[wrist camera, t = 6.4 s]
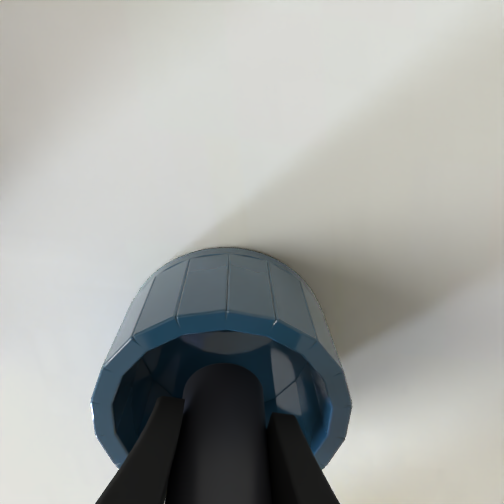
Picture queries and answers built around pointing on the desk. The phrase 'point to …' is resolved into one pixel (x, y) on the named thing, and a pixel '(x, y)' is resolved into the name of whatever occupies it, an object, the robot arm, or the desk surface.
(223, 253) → the blue bowl
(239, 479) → the marker
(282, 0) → the desk surface
